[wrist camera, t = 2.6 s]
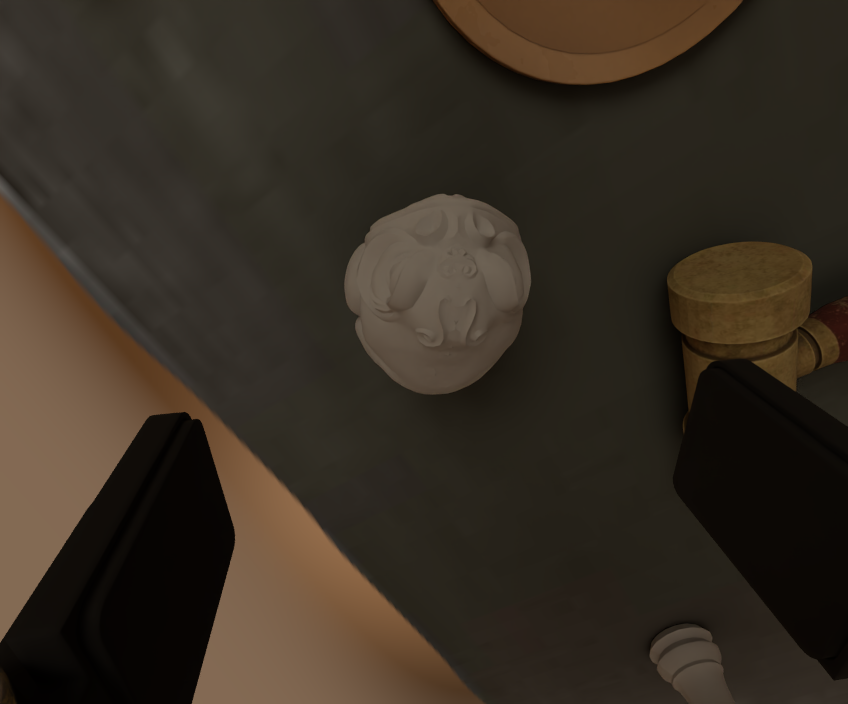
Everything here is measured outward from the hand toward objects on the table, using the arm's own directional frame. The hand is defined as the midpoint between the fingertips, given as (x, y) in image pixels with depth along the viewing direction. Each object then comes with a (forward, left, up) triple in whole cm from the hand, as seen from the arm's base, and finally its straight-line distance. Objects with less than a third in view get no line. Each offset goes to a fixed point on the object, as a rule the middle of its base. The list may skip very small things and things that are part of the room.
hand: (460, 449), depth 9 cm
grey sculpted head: (0, +1, -12) cm, 12 cm away
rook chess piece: (+29, +17, -12) cm, 35 cm away
